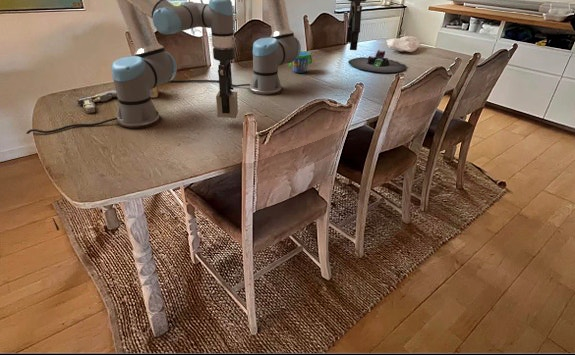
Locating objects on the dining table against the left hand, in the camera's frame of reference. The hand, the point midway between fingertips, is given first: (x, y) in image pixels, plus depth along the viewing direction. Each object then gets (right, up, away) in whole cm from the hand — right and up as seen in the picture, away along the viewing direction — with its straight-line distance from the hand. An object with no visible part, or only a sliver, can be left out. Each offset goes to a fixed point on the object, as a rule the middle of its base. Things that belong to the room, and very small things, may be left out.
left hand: (227, 109), depth 139 cm
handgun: (-57, +5, +16) cm, 59 cm away
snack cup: (+30, +34, +66) cm, 80 cm away
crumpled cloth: (+104, +65, +119) cm, 171 cm away
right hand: (+50, +30, +15) cm, 60 cm away
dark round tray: (+78, +43, +83) cm, 122 cm away
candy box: (-39, +12, +28) cm, 49 cm away
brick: (0, -2, +1) cm, 2 cm away
